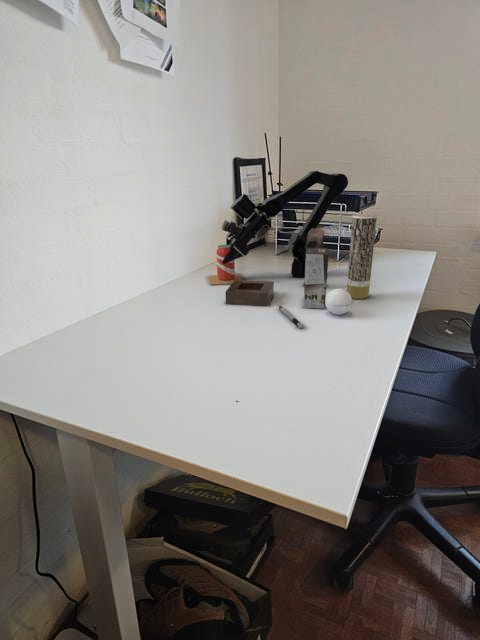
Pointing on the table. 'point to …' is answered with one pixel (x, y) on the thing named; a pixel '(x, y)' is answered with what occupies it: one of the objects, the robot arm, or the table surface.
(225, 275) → the beverage can
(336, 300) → the seamed sphere
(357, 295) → the bark patterned cylinder
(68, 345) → the table surface
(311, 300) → the coffee box
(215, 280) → the cork mat
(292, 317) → the pen
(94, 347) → the table surface
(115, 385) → the table surface
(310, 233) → the statue
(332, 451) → the table surface
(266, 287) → the stand
